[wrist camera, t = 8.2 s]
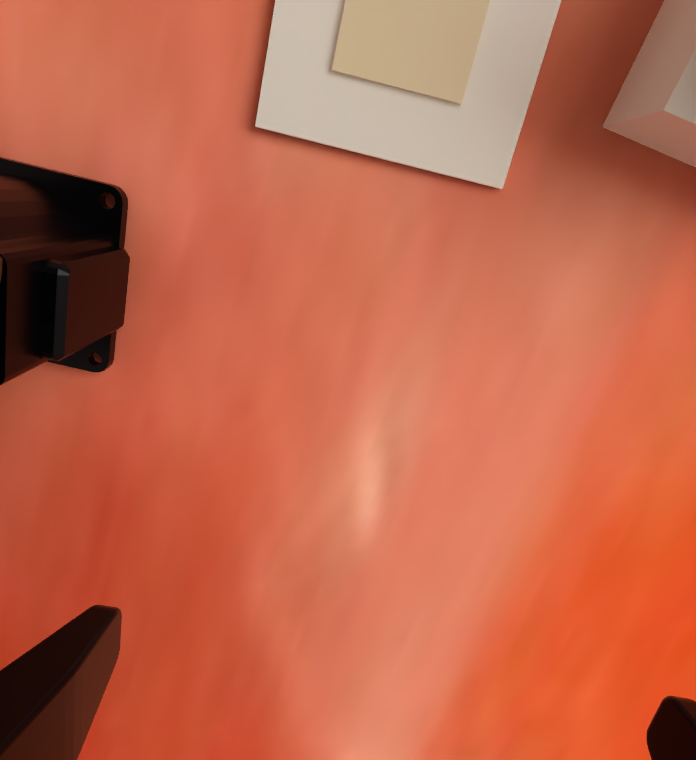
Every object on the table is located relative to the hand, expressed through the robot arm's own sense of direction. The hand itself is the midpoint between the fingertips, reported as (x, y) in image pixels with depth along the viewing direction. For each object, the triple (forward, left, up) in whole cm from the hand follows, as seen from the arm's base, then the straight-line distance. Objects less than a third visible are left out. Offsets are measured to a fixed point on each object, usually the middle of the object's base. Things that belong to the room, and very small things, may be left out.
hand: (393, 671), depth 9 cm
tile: (-2, +12, -12) cm, 17 cm away
